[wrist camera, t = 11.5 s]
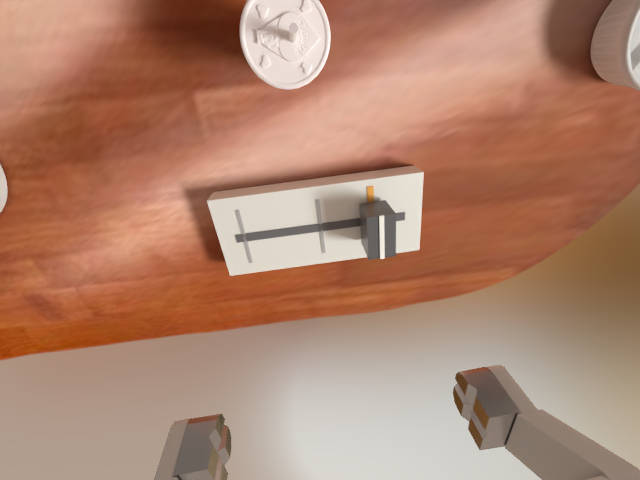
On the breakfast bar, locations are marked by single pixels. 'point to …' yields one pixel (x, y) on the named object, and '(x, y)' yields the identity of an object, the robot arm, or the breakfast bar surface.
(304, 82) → the smoothie
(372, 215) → the fader knob
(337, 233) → the fader console
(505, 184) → the breakfast bar surface
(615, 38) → the ramekin
